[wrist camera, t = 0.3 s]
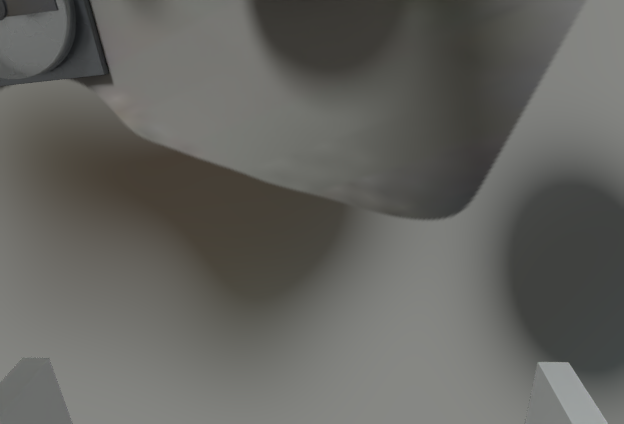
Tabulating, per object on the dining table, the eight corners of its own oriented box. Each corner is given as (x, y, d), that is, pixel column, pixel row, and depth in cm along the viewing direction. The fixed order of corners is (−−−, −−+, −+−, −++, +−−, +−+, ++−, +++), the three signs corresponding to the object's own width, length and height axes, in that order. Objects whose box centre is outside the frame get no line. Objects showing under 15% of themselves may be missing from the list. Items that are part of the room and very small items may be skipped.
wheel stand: (63, -90, 32) (54, -93, 31) (108, 73, 36) (102, 75, 35) (-80, -68, 33) (-93, -71, 32) (-19, 87, 37) (-29, 89, 36)
